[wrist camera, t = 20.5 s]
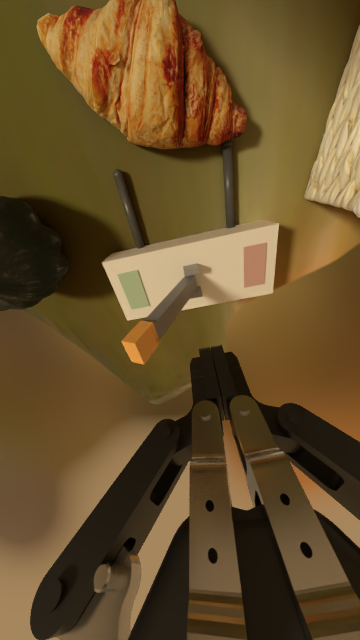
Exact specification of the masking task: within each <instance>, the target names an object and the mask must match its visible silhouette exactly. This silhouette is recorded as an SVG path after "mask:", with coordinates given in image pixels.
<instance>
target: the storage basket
mask: <svg viewBox="0 0 360 640" xmlns="http://www.w3.org/2000/svg"><path fill="white" fill-rule="evenodd" d="M323 136H324V137H323V140H322V143H321V145H320V150H319V154H318V157H317V160H316V161H315V162H314V163H313V164H314V165H313V168H312V170H311V175H310V180H309V183H308V186H307V189H306V192H305V196H304V198H305V199H307V200H310V201H316V202H319V203H323V204H329V205H332V206H335V207H342V208H343V209H346V210H350V211H352V212H354V213H355V214H356V216H357V217H359V218H360V25H359V28H358V30H357V33H356V36H355V39H354V42H353V46H352V50H351V54H350V57H349V61H348V63H347V65H346V67H345V69H344V72H343V75H342V78H341V81H340V85H339V88H338V91H337V95H336V99H335V102H334V104H333V106H332V108H331V111H330V113H329V116H328V119H327V123H326V131H325V134H324V135H323Z"/></svg>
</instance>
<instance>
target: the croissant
mask: <svg viewBox="0 0 360 640" xmlns="http://www.w3.org/2000/svg"><path fill="white" fill-rule="evenodd" d="M37 30H38V34H39V37H40V40H41V42H42V44H43V45H44V47H45V49H46V50H47V52H48V53H49V55H50V56H51V58H52V60H53V62H54V63H55V65H56V67H57V68H58V69H59V70H60V71H61V72H62V73H63V74H64V75H65V76H66V77H67V79H68V80H69V81H70V82H71V83H72V84H73V85H74V87H75V88H76V89H77V91H78V92H79V93H80V94H81V95H82V96H83V97H84V99H85V100H86V102H87V104H88V105H89V106H90V108H92V109H93V110H94V111H95V112H96V113H97V114H98V115H99V116H101V117H102V118H103V119H105V120H107V121H109V122H110V123H111V124H112V125H113V126H115V127H116V128H117V129H119V130H120V131H121V132H122V134H124V135H125V136H127V139H128V141H129V142H130V143H131V144H135V145H139V146H146V147H154V148H158V149H177V148H185V147H187V148H191V147H197V146H200V145H204V144H206V143H207V144H208V145H220V144H221V143H223V142H225V141H227V140H229V139H231V138H235V137H239V136H240V135H241V134H242V133H243V132H244V130H245V126H246V121H247V116H246V111H245V109H244V108H242V107H240V106H238V105H237V104H235V103H234V102H233V99H232V93H231V88H230V86H229V84H228V81H227V79H226V77H225V75H224V74H223V72H222V71H221V69H220V67H218V68H217V67H216V66H215V62H214V61H213V59H212V58H211V57H210V56H207V55H206V51H205V48H204V46H203V41H202V40H201V33H200V32H199V31H198V30H195V29H193V27H192V26H191V25H190V24H189V23H188V22H187V21H186V20H185V19H184V18H183V17H182V16H181V15H180V14H179V13H178V9H177V6H176V2H175V0H110V1H109V2H108V4H107V5H106V6H104V7H103V9H102V8H101V9H97V10H94V9H90V8H85V7H81V6H72V7H71V8H70V9H69V11H68V12H66V13H65V14H63V15H61V16H60V17H59V16H57V15H52V14H50V13H48V14H46V15H45V16H43V17H42V18H40V19H39V20H38V24H37Z"/></svg>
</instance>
